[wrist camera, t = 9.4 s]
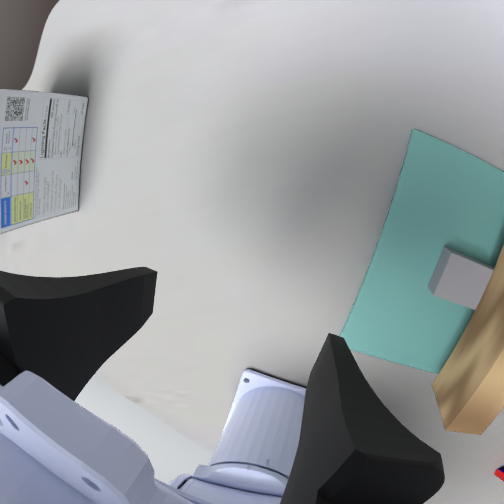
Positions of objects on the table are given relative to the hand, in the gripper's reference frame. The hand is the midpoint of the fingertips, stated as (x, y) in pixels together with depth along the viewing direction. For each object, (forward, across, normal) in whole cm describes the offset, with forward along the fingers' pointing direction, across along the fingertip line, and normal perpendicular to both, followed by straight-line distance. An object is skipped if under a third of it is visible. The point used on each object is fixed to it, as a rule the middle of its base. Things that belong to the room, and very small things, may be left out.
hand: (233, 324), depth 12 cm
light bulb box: (+11, +22, -2) cm, 25 cm away
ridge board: (+10, -16, -2) cm, 19 cm away
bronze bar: (+8, -16, -2) cm, 18 cm away
